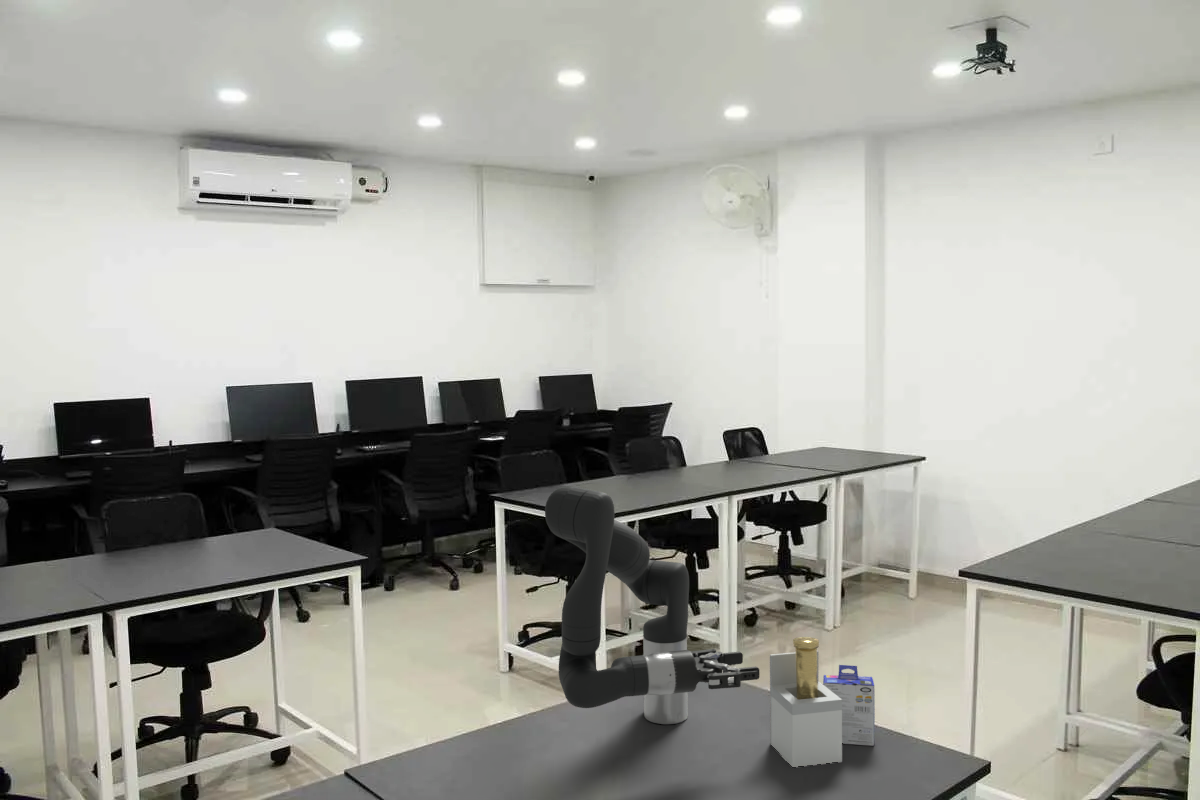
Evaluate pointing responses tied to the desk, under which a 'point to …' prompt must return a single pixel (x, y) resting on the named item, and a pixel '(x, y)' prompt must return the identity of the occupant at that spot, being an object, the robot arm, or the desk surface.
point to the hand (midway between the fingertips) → (750, 664)
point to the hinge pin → (806, 667)
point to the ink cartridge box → (854, 705)
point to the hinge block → (803, 717)
